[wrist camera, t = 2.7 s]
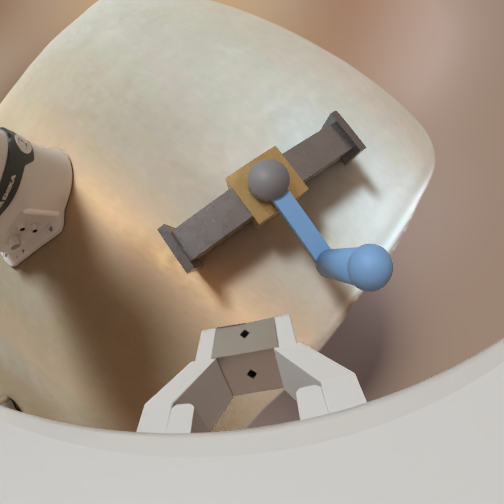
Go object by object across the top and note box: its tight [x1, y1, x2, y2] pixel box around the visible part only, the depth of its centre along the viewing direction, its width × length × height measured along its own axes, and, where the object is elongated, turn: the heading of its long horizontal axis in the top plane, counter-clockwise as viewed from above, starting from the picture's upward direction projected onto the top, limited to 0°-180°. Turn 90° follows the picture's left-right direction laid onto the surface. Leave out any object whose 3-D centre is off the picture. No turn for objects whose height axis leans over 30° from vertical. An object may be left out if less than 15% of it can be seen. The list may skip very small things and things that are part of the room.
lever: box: [248, 159, 393, 292], centre depth 23 cm, size 15×4×13 cm, turn 36°
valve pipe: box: [157, 111, 366, 274], centre depth 33 cm, size 26×6×6 cm, turn 126°
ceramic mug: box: [0, 396, 16, 410], centre depth 31 cm, size 11×8×8 cm
